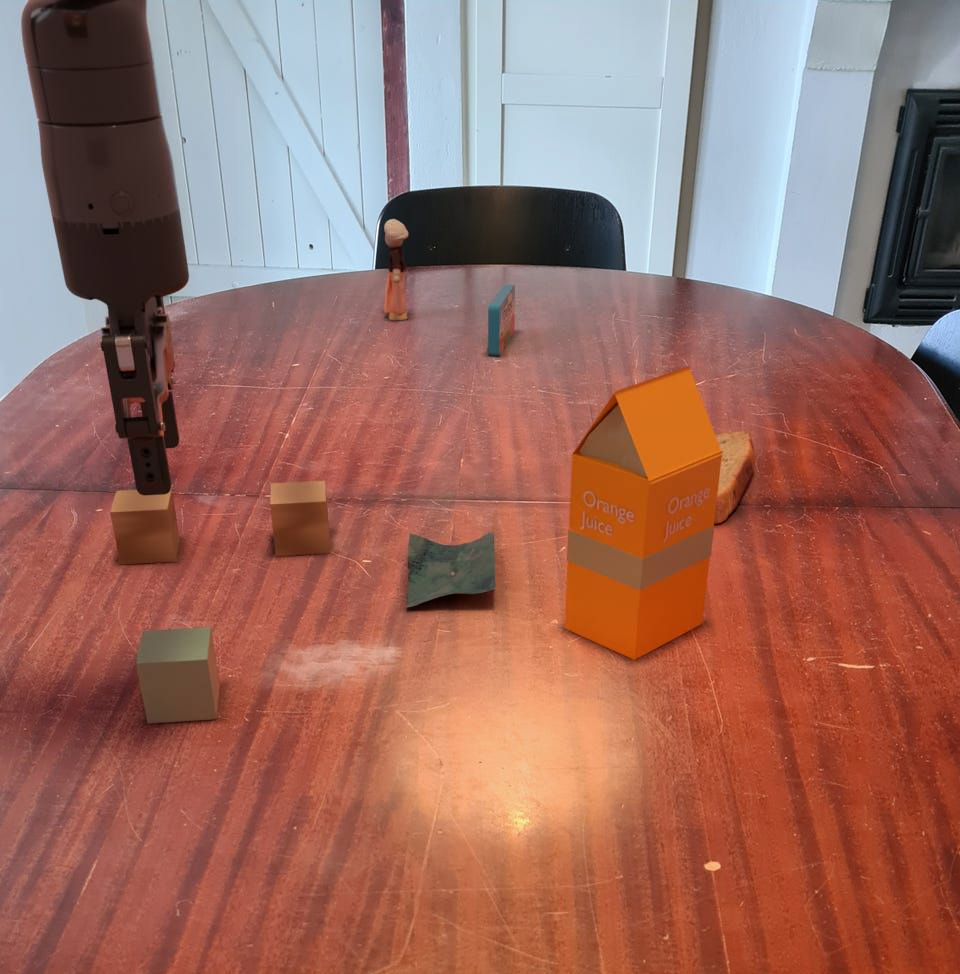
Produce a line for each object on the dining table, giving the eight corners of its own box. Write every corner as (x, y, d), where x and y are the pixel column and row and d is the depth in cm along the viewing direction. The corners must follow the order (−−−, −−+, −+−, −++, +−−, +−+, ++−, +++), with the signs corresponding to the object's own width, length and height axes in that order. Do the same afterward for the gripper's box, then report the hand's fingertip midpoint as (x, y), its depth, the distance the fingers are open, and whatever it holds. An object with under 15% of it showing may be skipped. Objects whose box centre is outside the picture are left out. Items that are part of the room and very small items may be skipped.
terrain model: (497, 608, 104) (496, 587, 103) (405, 612, 104) (403, 592, 103) (494, 545, 114) (493, 526, 113) (410, 550, 114) (409, 530, 113)
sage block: (147, 723, 90) (135, 663, 87) (153, 689, 94) (142, 630, 91) (216, 719, 91) (207, 659, 88) (220, 685, 95) (211, 626, 91)
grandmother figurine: (381, 310, 179) (376, 214, 172) (407, 309, 180) (403, 213, 172) (387, 325, 174) (383, 226, 166) (414, 323, 174) (411, 224, 166)
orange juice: (703, 624, 102) (733, 376, 90) (634, 660, 97) (656, 404, 85) (631, 594, 107) (650, 353, 94) (562, 627, 102) (572, 379, 89)
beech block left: (120, 564, 112) (109, 511, 109) (126, 542, 116) (116, 490, 113) (176, 561, 112) (167, 509, 109) (180, 539, 116) (171, 487, 113)
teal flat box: (503, 331, 171) (504, 283, 167) (514, 331, 171) (514, 283, 167) (488, 356, 162) (488, 306, 158) (499, 356, 161) (499, 306, 158)
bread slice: (695, 531, 117) (700, 493, 115) (580, 473, 129) (582, 437, 126) (830, 491, 125) (836, 454, 122) (710, 439, 137) (714, 405, 134)
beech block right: (275, 556, 113) (269, 503, 110) (276, 534, 117) (270, 482, 114) (330, 553, 113) (326, 501, 110) (329, 531, 117) (325, 480, 114)
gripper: (66, 184, 79) (114, 436, 89) (32, 231, 68) (91, 513, 78) (185, 181, 80) (219, 431, 90) (170, 227, 69) (211, 506, 79)
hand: (160, 469), depth 84 cm, fingers open, 8 cm apart
